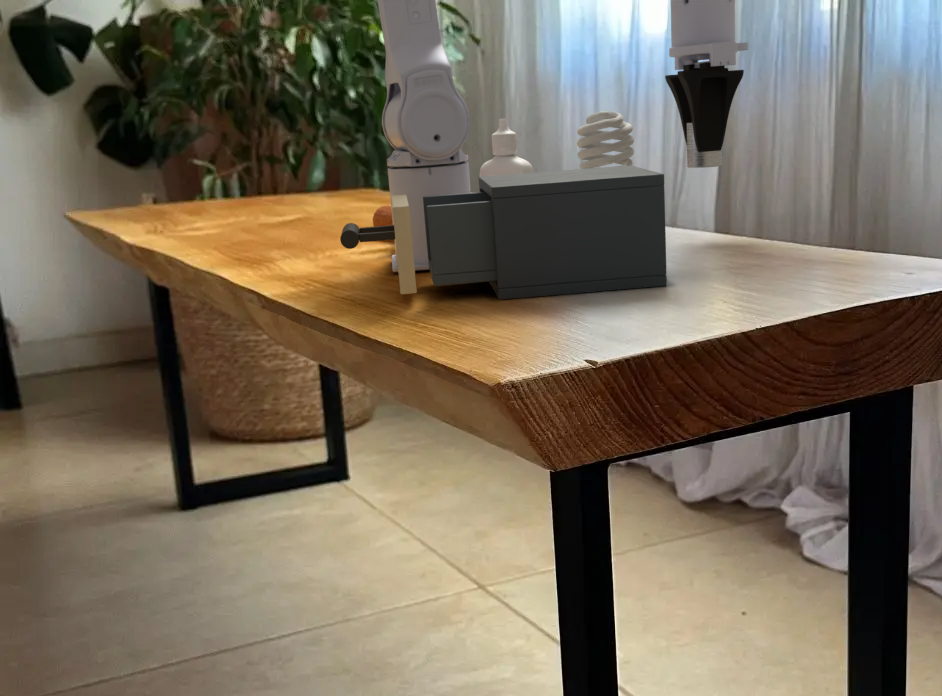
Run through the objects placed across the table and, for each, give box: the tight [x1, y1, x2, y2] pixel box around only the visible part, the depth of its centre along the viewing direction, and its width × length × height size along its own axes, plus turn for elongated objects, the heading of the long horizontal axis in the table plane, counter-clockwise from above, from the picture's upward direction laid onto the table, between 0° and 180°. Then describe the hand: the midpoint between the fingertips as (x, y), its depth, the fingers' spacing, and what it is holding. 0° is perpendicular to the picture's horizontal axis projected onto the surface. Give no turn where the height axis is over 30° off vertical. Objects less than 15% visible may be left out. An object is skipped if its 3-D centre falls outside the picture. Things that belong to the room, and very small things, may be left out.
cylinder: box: [686, 122, 723, 169], centre depth 114 cm, size 3×3×4 cm
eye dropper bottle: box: [479, 118, 534, 177], centre depth 122 cm, size 4×6×12 cm
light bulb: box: [576, 110, 635, 169], centre depth 122 cm, size 6×6×12 cm
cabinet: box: [478, 165, 668, 301], centre depth 96 cm, size 13×13×8 cm
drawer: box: [339, 191, 497, 295], centre depth 95 cm, size 16×11×6 cm
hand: (704, 150), depth 114 cm, fingers closed on cylinder, 3 cm apart
